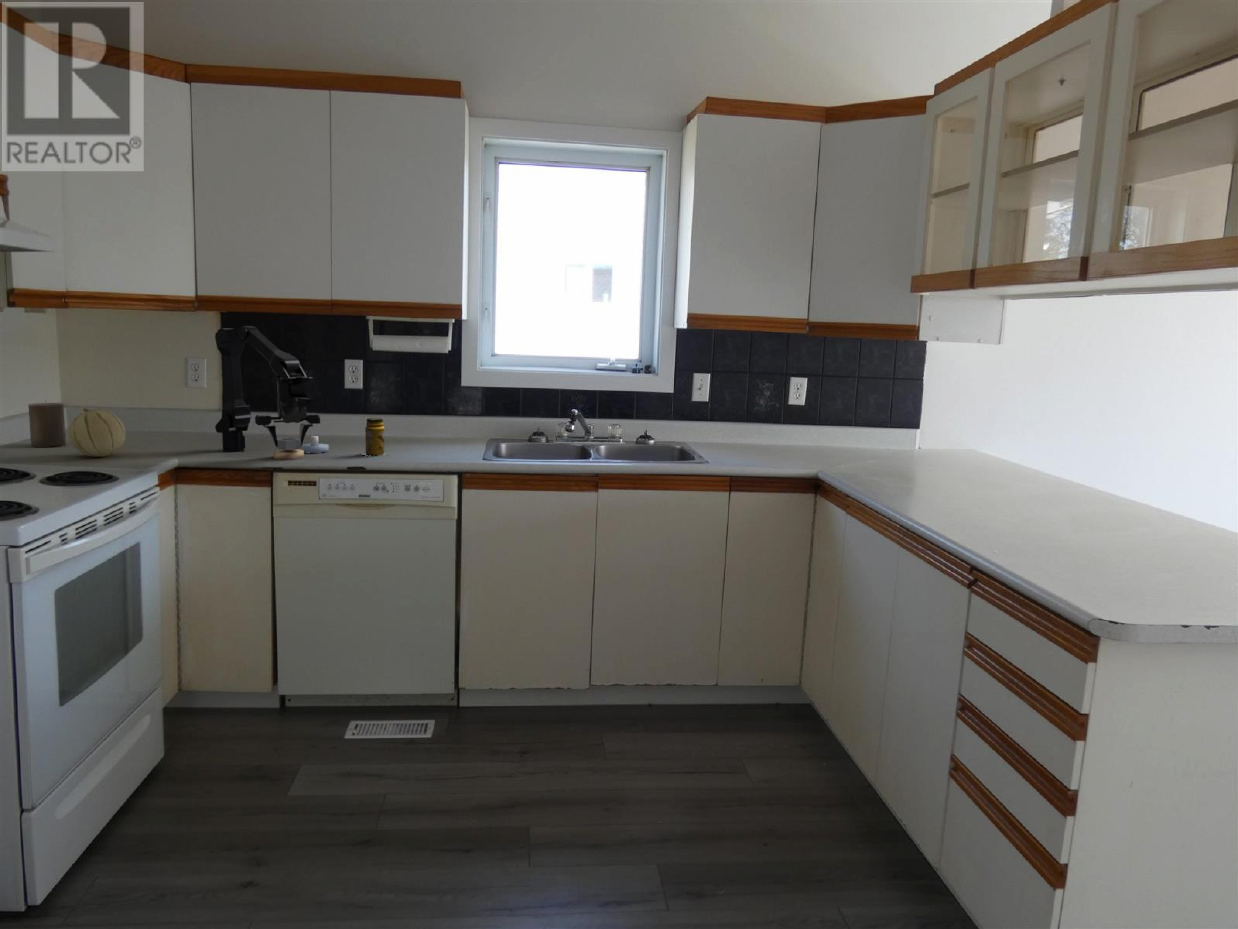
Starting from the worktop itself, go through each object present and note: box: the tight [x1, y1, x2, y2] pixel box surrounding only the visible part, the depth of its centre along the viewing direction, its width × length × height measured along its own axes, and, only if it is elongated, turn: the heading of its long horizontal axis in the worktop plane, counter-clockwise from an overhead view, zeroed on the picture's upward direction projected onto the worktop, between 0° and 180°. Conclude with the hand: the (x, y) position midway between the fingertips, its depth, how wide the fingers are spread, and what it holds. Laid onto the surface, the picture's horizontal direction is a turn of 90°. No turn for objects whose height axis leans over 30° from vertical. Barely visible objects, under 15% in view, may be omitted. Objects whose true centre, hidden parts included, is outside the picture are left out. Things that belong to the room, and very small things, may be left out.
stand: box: [273, 437, 305, 461], centre depth 279 cm, size 9×9×6 cm
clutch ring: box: [275, 437, 301, 450], centre depth 279 cm, size 7×7×3 cm
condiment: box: [355, 417, 390, 458], centre depth 290 cm, size 7×8×12 cm
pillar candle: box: [27, 399, 67, 448], centre depth 286 cm, size 10×10×15 cm
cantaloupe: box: [68, 407, 126, 458], centre depth 269 cm, size 15×15×15 cm
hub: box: [299, 435, 330, 454], centre depth 293 cm, size 9×9×5 cm
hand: (288, 446), depth 279 cm, fingers closed on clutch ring, 7 cm apart
